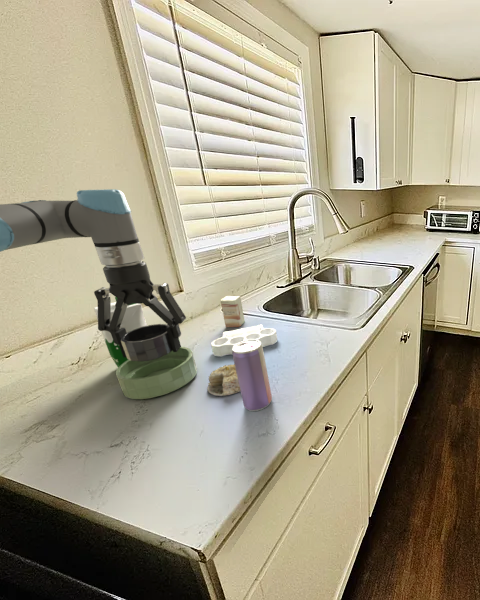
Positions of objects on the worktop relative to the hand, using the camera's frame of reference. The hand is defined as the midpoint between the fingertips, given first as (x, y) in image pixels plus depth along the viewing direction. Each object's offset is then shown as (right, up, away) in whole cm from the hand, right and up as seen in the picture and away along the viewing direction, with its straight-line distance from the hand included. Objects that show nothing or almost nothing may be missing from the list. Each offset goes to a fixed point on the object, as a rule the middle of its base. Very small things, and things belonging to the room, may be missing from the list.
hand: (153, 351), depth 79 cm
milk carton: (-12, -6, +10) cm, 17 cm away
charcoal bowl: (0, 0, 0) cm, 0 cm away
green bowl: (0, -8, +3) cm, 9 cm away
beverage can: (+28, -11, -5) cm, 31 cm away
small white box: (+3, +4, +35) cm, 35 cm away
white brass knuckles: (+13, -1, +21) cm, 25 cm away
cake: (+18, -9, +2) cm, 20 cm away
